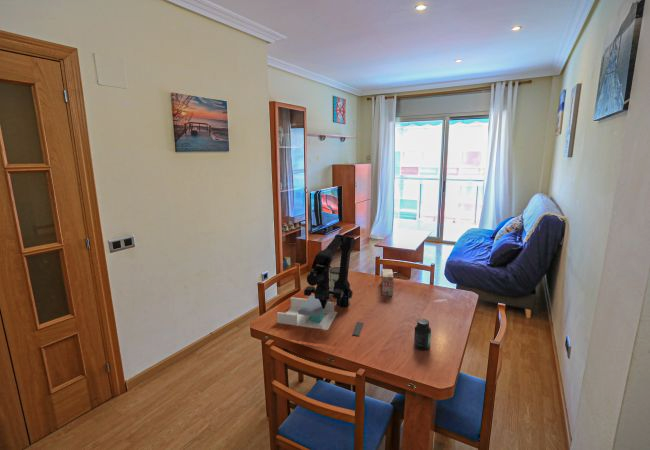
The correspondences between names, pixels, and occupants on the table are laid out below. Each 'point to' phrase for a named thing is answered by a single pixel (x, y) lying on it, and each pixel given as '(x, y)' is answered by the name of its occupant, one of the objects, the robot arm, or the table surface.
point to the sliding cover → (311, 307)
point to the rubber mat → (358, 329)
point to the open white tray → (305, 320)
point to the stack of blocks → (387, 282)
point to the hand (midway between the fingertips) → (323, 308)
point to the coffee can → (333, 276)
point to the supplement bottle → (422, 335)
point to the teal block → (317, 318)
